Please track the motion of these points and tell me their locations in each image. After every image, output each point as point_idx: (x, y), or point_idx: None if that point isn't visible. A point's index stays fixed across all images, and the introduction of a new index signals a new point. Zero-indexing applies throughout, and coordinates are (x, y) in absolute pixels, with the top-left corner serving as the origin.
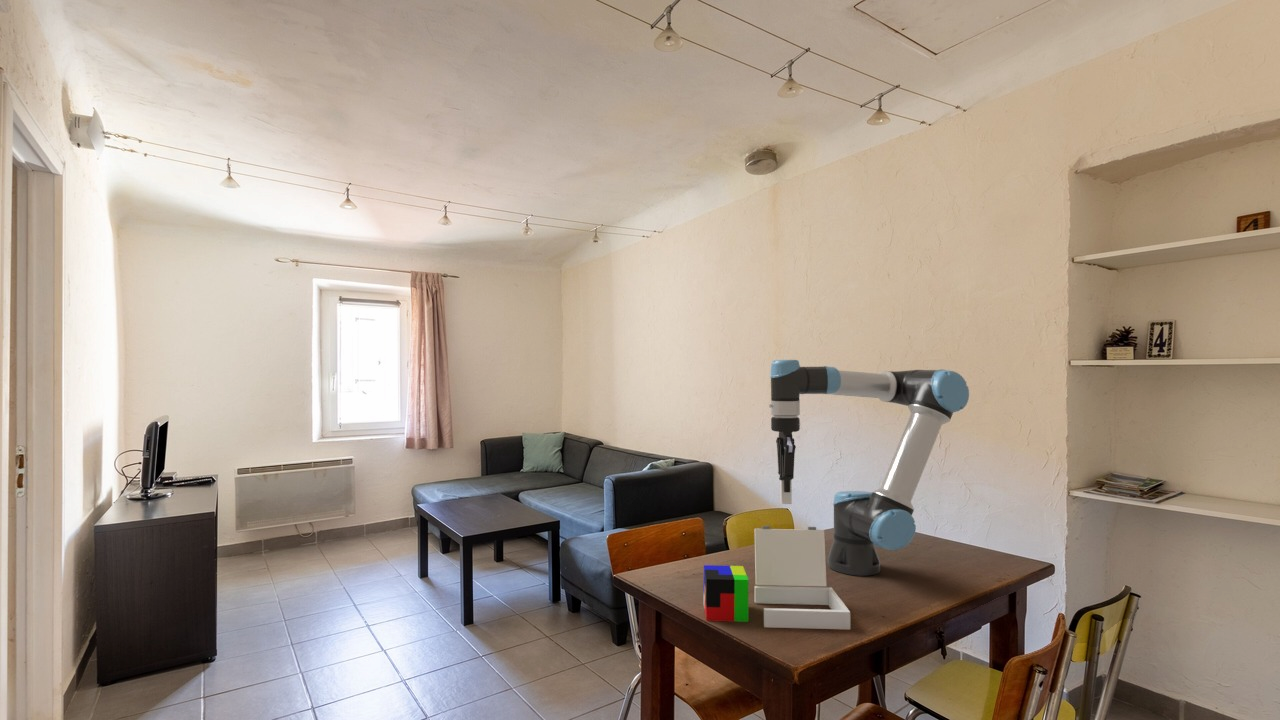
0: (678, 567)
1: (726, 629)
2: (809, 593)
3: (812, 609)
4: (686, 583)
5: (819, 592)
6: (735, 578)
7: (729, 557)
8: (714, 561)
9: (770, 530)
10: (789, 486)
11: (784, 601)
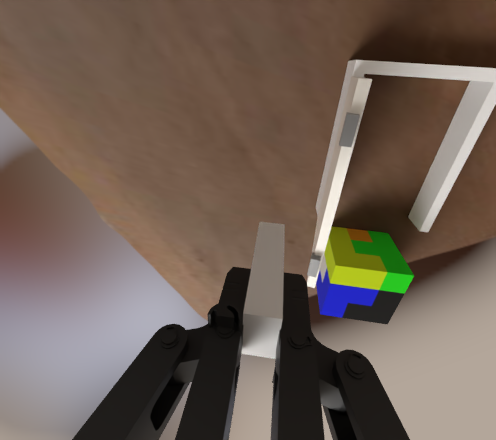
0: (176, 272)
1: None
2: None
3: (460, 152)
4: None
5: None
6: (398, 290)
7: (111, 196)
8: (138, 223)
9: (323, 254)
10: (308, 304)
11: None
